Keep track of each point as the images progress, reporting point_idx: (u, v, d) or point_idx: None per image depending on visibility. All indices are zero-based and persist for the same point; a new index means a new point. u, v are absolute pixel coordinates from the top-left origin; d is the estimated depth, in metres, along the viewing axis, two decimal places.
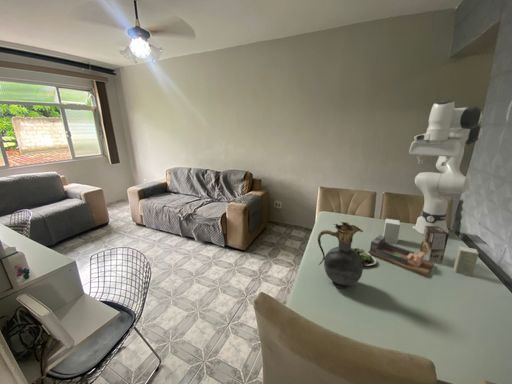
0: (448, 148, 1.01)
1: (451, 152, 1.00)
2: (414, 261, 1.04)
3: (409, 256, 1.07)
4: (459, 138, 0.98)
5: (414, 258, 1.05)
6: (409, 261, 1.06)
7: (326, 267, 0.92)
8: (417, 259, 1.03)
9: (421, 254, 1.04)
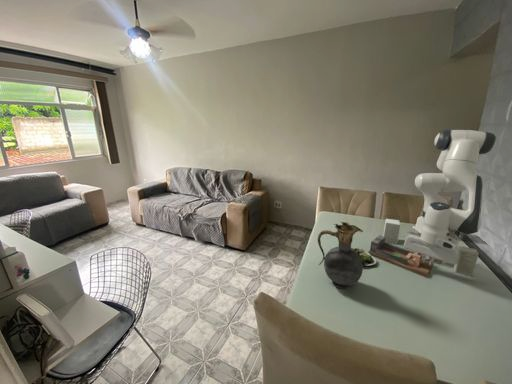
0: None
1: None
2: (413, 261, 1.04)
3: (408, 256, 1.07)
4: None
5: (413, 258, 1.05)
6: (408, 261, 1.06)
7: (326, 267, 0.92)
8: (416, 259, 1.03)
9: (420, 254, 1.04)
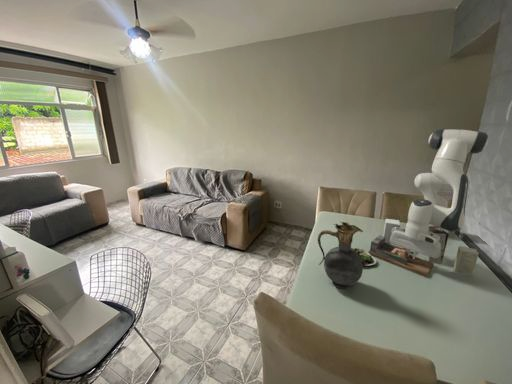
0: None
1: None
2: None
3: (394, 251, 1.12)
4: None
5: (398, 252, 1.10)
6: None
7: (326, 267, 0.92)
8: (401, 253, 1.08)
9: (405, 249, 1.09)
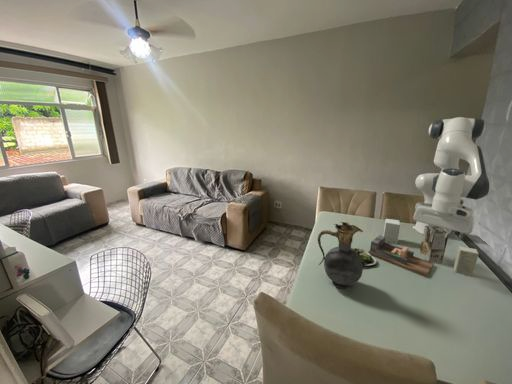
0: None
1: None
2: None
3: (394, 251, 1.12)
4: None
5: (398, 252, 1.10)
6: None
7: (326, 267, 0.92)
8: (401, 253, 1.08)
9: (405, 249, 1.09)
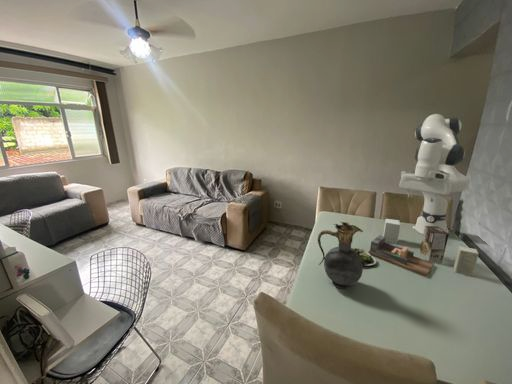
0: None
1: None
2: None
3: (394, 251, 1.12)
4: None
5: (398, 252, 1.10)
6: None
7: (326, 267, 0.92)
8: (401, 253, 1.08)
9: (405, 249, 1.09)
